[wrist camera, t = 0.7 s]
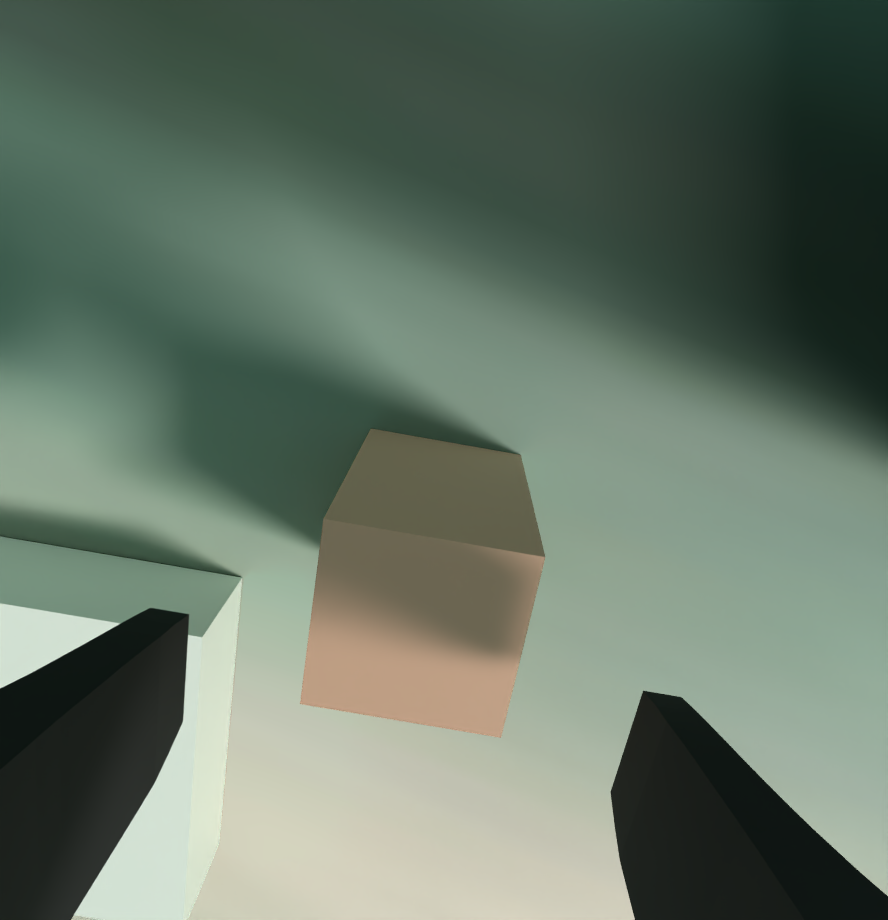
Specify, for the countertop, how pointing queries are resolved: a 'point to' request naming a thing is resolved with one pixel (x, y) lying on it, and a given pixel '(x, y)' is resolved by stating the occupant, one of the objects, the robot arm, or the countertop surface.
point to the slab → (204, 720)
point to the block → (424, 585)
